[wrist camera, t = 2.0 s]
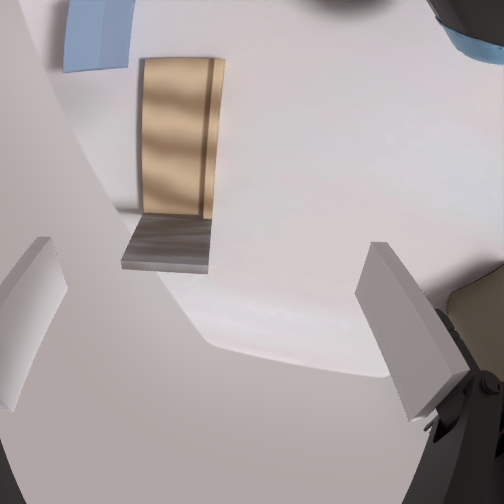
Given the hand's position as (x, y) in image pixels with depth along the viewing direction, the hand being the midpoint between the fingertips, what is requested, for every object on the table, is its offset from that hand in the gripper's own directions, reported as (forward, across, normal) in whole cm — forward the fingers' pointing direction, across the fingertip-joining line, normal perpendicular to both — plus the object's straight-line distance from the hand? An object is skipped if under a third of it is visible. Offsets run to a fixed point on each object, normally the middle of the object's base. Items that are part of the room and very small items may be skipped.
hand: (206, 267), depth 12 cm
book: (+32, +63, -30) cm, 77 cm away
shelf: (+31, -6, -2) cm, 32 cm away
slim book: (+31, -15, +14) cm, 37 cm away
